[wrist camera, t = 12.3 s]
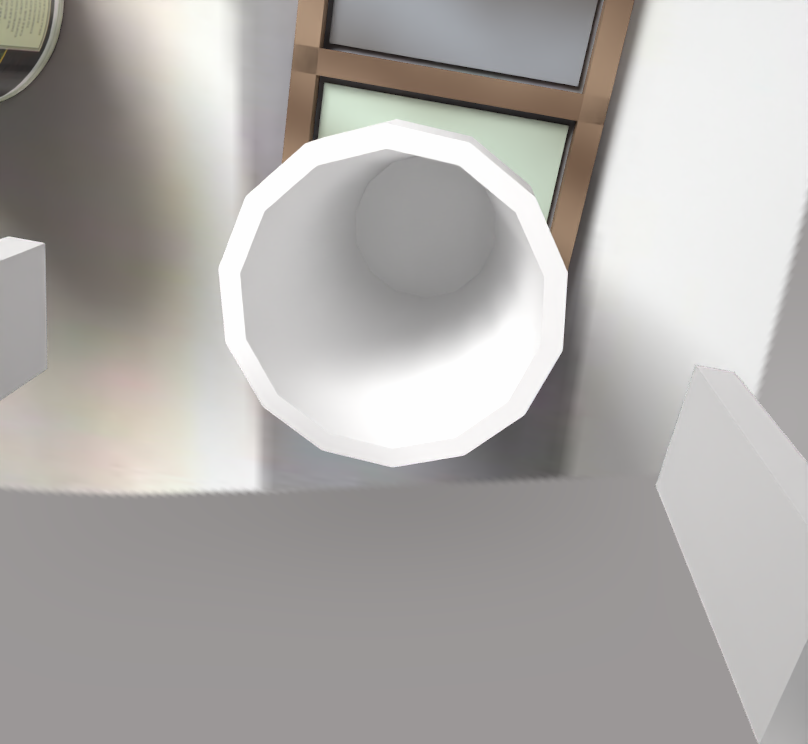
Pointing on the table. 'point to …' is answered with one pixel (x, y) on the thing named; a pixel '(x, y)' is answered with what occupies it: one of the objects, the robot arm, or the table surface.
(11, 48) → the coffee can
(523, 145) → the walnut frame
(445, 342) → the foam cup
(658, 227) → the table surface
